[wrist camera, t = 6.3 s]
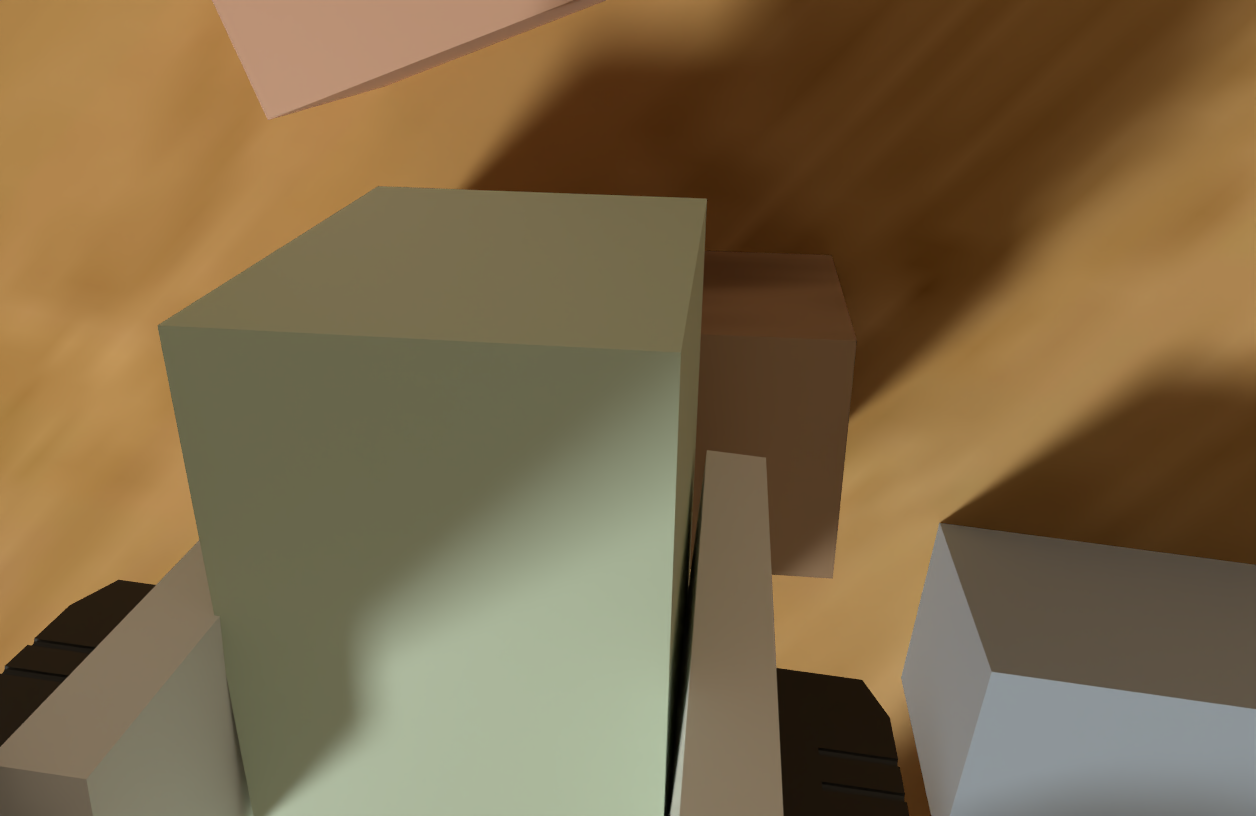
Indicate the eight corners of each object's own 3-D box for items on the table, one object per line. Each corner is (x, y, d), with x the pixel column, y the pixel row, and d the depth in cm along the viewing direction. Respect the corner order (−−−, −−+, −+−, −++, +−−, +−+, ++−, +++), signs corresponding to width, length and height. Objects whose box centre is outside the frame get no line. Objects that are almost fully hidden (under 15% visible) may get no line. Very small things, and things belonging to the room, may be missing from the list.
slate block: (1337, 573, 20) (1509, 745, 16) (1268, 727, 22) (1405, 924, 17) (938, 520, 21) (991, 672, 16) (900, 674, 22) (939, 852, 18)
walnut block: (831, 252, 19) (856, 340, 14) (813, 444, 20) (832, 578, 16) (419, 240, 20) (318, 318, 15) (434, 424, 21) (346, 546, 17)
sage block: (377, 186, 12) (157, 324, 8) (706, 198, 12) (681, 352, 7) (425, 702, 15) (292, 1012, 11) (682, 724, 15) (654, 1054, 11)
